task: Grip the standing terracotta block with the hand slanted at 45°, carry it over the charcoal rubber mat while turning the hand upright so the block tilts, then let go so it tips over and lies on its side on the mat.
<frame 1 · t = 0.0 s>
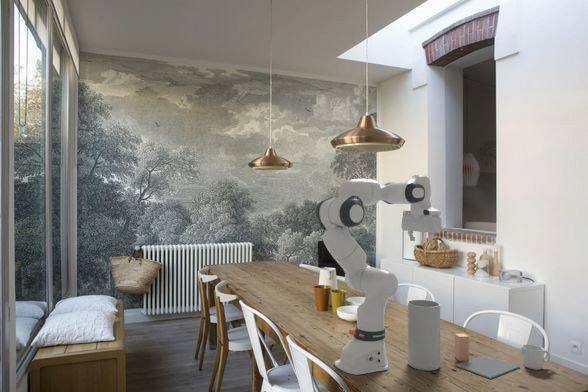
hand: (420, 241, 192), 48 cm above the table, tool pointing down, fingers open, 8 cm apart
terracotta block: (461, 358, 179), on the table
cup: (536, 368, 170), on the table
cylinder vase: (423, 365, 172), on the table
charcoal mat: (487, 366, 170), on the table
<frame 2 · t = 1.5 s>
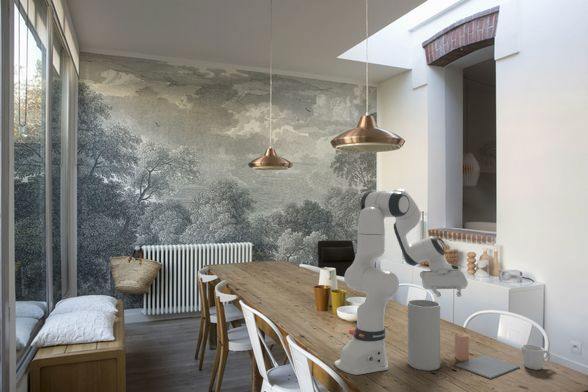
hand: (449, 296, 191), 24 cm above the table, tool tilted 45°, fingers open, 8 cm apart
nothing on the table moved.
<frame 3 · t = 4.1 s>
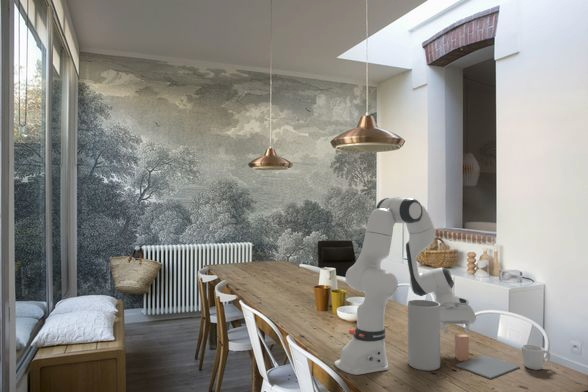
hand: (457, 332, 183), 10 cm above the table, tool tilted 45°, fingers open, 8 cm apart
nothing on the table moved.
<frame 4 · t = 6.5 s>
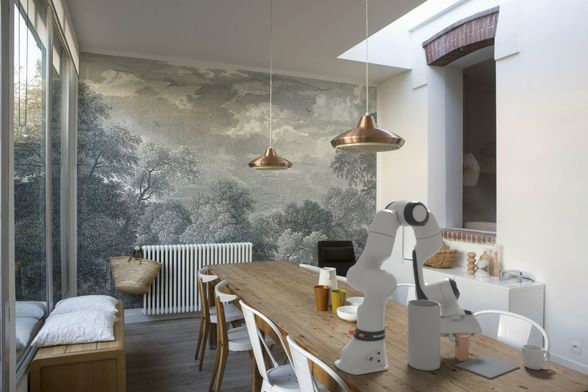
hand: (462, 345, 178), 6 cm above the table, tool tilted 45°, fingers closed on terracotta block, 4 cm apart
terracotta block: (461, 358, 179), on the table, touching gripper
everything else where it was.
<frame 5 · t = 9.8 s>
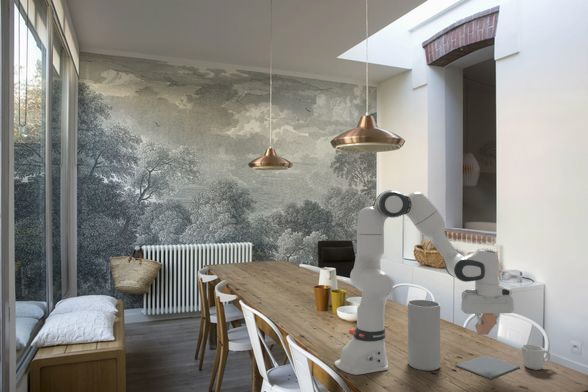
hand: (487, 324, 170), 17 cm above the table, tool pointing down, fingers closed on terracotta block, 4 cm apart
terracotta block: (481, 330, 175), point 13 cm above the table, tilted 45°, touching gripper
everything else where it was.
when the fingers open (7 cm above the table, at t = 12.8 s): terracotta block moves 2 cm and tips over, resting on charcoal mat.
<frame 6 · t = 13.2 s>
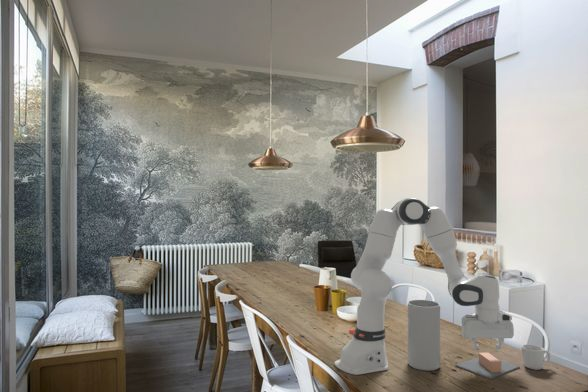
hand: (487, 349, 170), 7 cm above the table, tool pointing down, fingers open, 8 cm apart
terracotta block: (483, 357, 173), point 3 cm above the table, tilted 90°, touching charcoal mat
everything else where it was.
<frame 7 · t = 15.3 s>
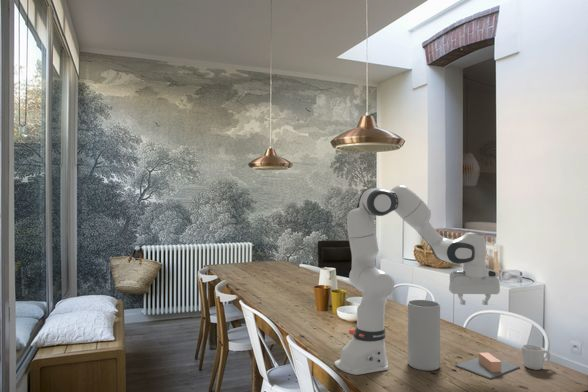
hand: (473, 304, 177), 23 cm above the table, tool pointing down, fingers open, 8 cm apart
nothing on the table moved.
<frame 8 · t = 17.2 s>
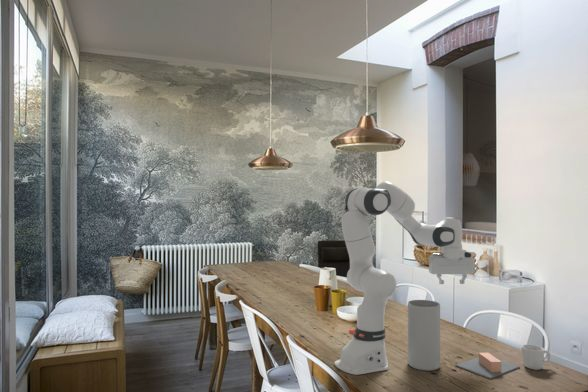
hand: (451, 283, 191), 29 cm above the table, tool pointing down, fingers open, 8 cm apart
nothing on the table moved.
at the end: terracotta block tilted 90°; terracotta block inside the target area (3.2 cm from its centre), point 2.6 cm above the table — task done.
